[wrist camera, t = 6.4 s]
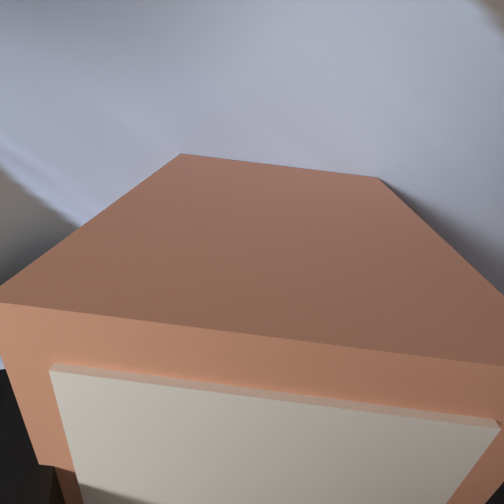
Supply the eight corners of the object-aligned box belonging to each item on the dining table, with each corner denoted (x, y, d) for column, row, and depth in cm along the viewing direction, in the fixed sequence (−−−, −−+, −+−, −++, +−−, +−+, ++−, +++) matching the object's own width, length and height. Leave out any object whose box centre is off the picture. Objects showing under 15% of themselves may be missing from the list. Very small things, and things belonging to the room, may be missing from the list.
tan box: (180, 153, 13) (-29, 306, 4) (377, 177, 13) (601, 387, 4) (180, 339, 18) (81, 601, 9) (325, 358, 18) (375, 641, 9)
